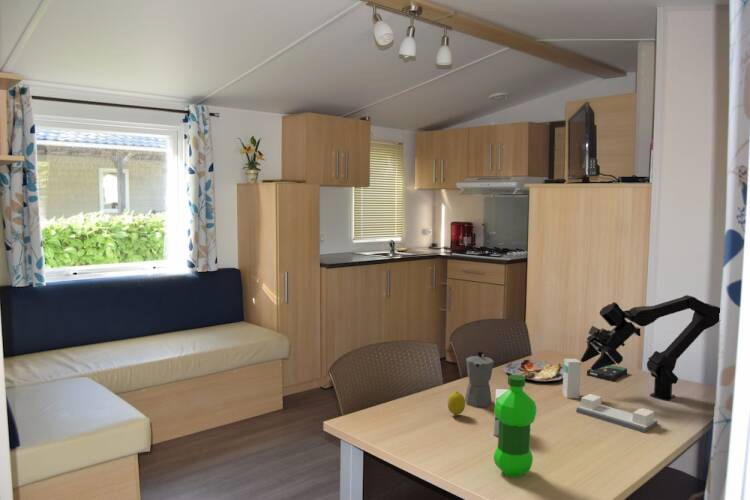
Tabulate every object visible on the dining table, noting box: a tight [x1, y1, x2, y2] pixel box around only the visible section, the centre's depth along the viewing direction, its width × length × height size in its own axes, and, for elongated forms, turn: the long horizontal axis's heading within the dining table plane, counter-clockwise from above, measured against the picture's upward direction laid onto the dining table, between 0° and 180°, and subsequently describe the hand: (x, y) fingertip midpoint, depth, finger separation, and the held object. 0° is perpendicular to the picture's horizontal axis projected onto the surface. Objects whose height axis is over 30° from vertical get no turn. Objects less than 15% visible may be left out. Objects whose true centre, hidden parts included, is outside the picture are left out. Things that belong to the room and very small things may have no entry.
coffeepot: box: [464, 350, 495, 408], centre depth 199 cm, size 15×9×18 cm, turn 162°
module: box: [562, 358, 582, 399], centre depth 206 cm, size 5×4×13 cm
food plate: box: [503, 358, 564, 383], centre depth 231 cm, size 25×23×4 cm
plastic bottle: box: [493, 374, 537, 478], centre depth 148 cm, size 10×10×25 cm
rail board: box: [576, 393, 659, 434], centre depth 187 cm, size 10×22×4 cm, turn 43°
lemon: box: [447, 390, 466, 417], centre depth 186 cm, size 6×6×8 cm
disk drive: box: [586, 365, 628, 382], centre depth 233 cm, size 10×3×15 cm
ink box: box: [493, 388, 509, 437], centre depth 174 cm, size 9×5×12 cm, turn 168°
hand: (586, 365), depth 206 cm, fingers open, 9 cm apart
